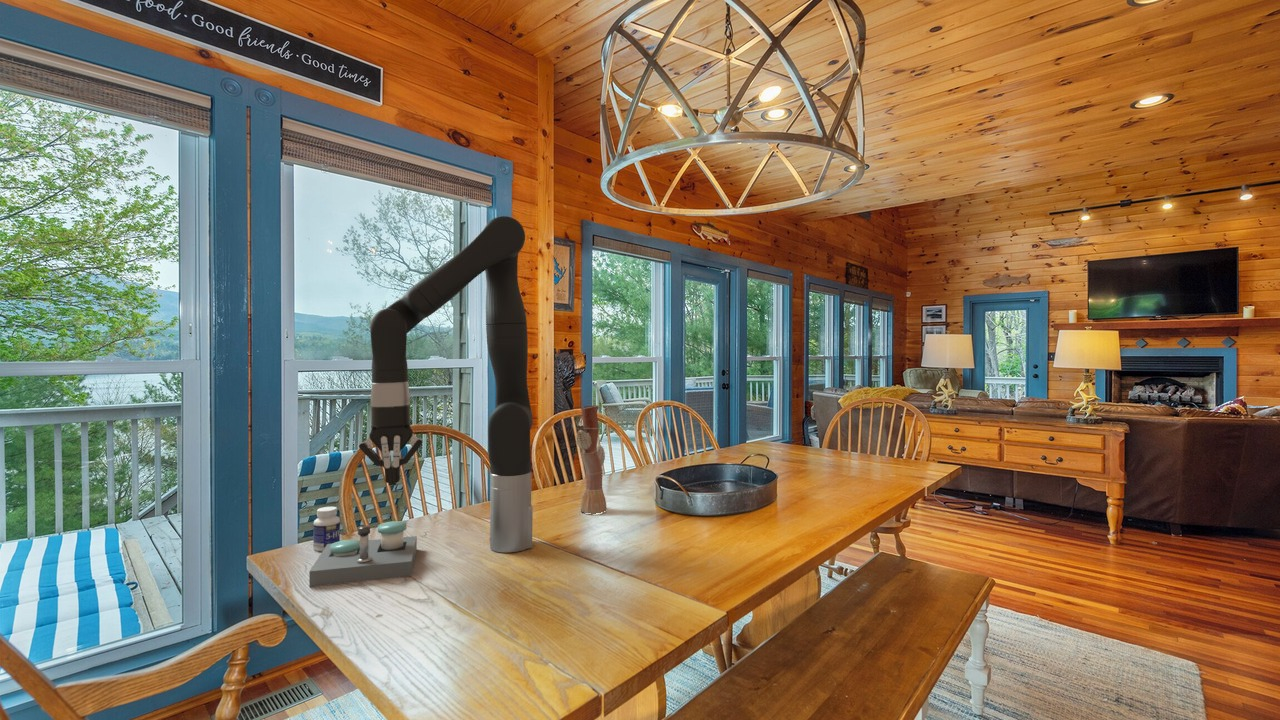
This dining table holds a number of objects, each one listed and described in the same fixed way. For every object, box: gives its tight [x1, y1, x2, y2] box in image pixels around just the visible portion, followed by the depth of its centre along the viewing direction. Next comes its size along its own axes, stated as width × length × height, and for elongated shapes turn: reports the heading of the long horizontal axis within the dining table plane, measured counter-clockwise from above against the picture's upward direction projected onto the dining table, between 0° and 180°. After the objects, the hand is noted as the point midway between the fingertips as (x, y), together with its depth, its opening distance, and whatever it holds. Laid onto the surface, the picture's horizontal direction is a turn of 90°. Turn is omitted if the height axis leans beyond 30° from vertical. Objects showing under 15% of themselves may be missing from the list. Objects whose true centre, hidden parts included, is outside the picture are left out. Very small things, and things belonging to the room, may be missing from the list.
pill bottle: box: [312, 506, 341, 552], centre depth 129 cm, size 5×5×9 cm
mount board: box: [308, 535, 418, 588], centre depth 118 cm, size 18×16×3 cm
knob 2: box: [377, 520, 407, 550], centre depth 121 cm, size 6×6×4 cm
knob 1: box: [330, 539, 360, 556], centre depth 119 cm, size 6×6×4 cm
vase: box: [576, 404, 607, 514], centre depth 159 cm, size 10×7×30 cm
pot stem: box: [356, 525, 372, 563], centre depth 113 cm, size 3×3×7 cm
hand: (392, 484), depth 121 cm, fingers closed
